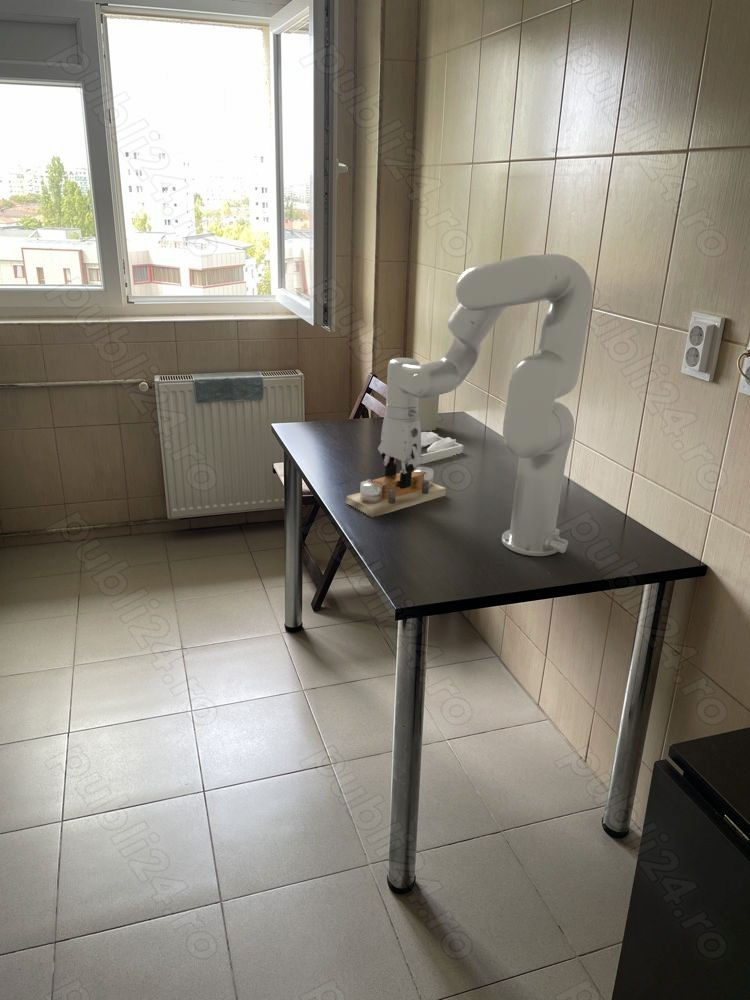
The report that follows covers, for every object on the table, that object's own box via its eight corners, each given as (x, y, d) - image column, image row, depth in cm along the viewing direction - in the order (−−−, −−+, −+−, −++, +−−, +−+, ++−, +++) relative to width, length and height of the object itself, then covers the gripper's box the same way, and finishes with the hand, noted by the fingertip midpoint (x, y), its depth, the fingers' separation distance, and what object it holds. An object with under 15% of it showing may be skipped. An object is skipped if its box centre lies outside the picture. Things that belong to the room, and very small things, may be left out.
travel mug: (410, 430, 236) (414, 375, 229) (413, 424, 243) (417, 370, 236) (435, 432, 235) (439, 377, 228) (437, 426, 242) (441, 372, 235)
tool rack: (445, 495, 184) (446, 477, 182) (372, 517, 169) (373, 497, 168) (417, 483, 191) (419, 465, 189) (345, 503, 176) (346, 484, 175)
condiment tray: (462, 453, 216) (463, 445, 215) (420, 464, 206) (421, 455, 205) (424, 439, 227) (425, 431, 226) (383, 449, 217) (383, 440, 216)
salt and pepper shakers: (428, 441, 226) (400, 448, 220) (429, 428, 225) (401, 434, 218) (455, 452, 218) (427, 459, 211) (456, 439, 216) (428, 445, 210)
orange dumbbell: (436, 486, 184) (438, 471, 183) (369, 505, 171) (370, 489, 169) (422, 480, 188) (423, 465, 186) (355, 498, 174) (356, 483, 173)
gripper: (438, 417, 168) (433, 491, 175) (389, 401, 180) (386, 471, 187) (414, 422, 164) (410, 498, 170) (366, 405, 175) (363, 477, 182)
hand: (397, 483), depth 179 cm, fingers open, 4 cm apart
